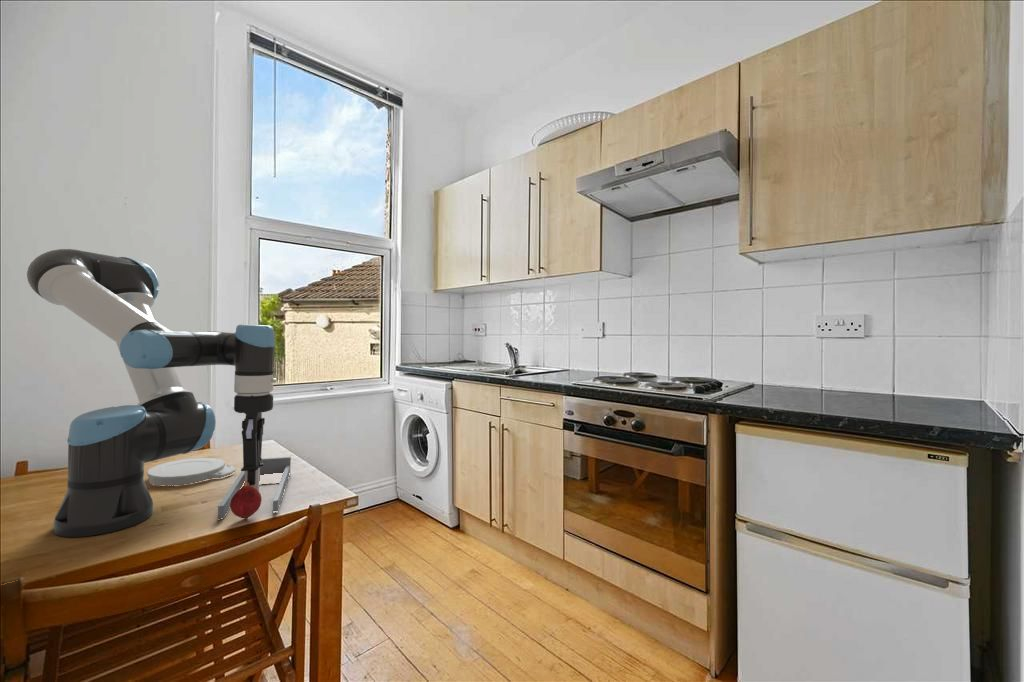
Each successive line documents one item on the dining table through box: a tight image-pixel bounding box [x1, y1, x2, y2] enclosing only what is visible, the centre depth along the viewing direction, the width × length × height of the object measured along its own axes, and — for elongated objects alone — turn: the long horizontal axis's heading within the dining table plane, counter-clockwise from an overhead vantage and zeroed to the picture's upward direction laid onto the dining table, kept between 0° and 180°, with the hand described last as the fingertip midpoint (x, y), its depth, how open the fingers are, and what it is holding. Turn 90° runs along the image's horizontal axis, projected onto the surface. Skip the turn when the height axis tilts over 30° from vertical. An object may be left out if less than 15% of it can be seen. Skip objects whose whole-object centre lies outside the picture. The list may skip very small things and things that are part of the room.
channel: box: [217, 456, 292, 520], centre depth 108 cm, size 11×29×5 cm, turn 22°
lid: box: [146, 457, 236, 486], centre depth 119 cm, size 17×20×3 cm
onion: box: [230, 482, 262, 519], centre depth 93 cm, size 6×6×8 cm
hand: (251, 497), depth 97 cm, fingers closed
